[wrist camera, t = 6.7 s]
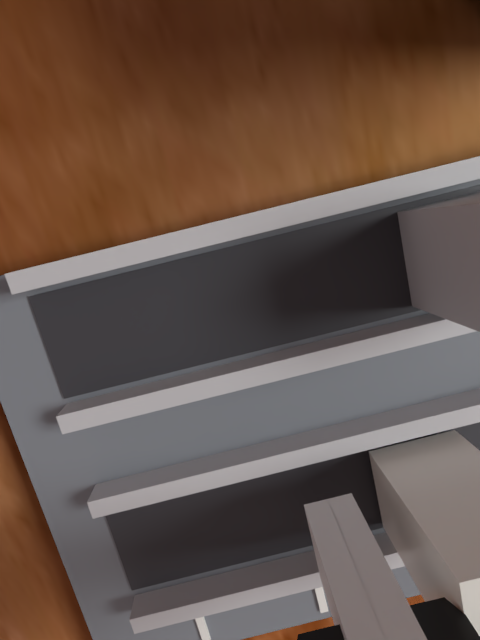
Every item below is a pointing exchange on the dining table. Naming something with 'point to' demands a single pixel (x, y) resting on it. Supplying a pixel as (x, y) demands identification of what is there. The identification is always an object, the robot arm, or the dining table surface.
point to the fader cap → (434, 515)
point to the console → (239, 396)
